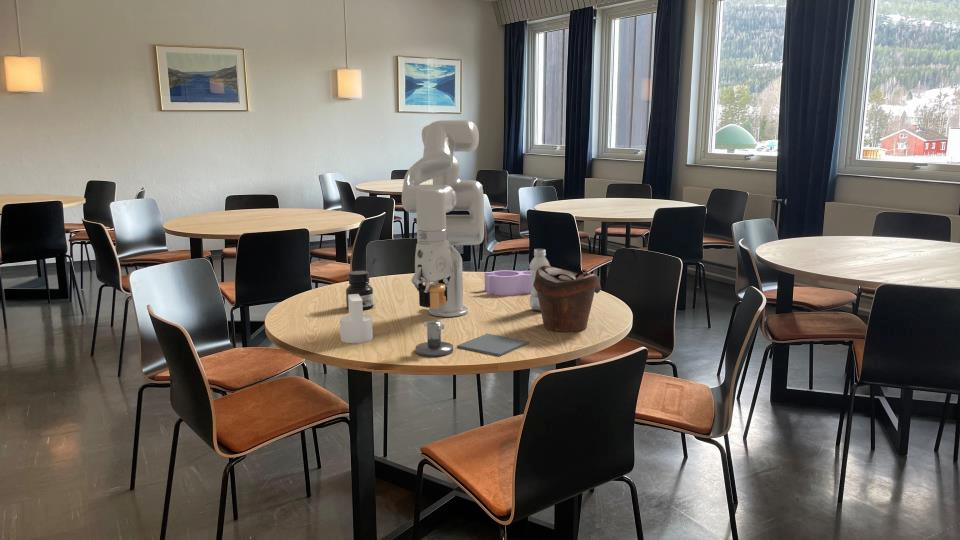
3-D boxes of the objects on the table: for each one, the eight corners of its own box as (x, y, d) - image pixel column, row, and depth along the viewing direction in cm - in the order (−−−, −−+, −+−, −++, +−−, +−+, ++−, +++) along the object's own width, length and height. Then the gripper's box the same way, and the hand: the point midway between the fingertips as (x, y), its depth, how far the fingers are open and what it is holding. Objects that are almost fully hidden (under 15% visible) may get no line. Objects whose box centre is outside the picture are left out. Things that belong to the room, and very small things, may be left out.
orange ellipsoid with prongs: (416, 305, 185) (415, 285, 184) (431, 300, 190) (431, 280, 189) (435, 309, 182) (434, 288, 180) (450, 303, 187) (450, 283, 186)
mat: (457, 347, 191) (457, 345, 191) (487, 335, 202) (487, 333, 202) (500, 356, 183) (500, 354, 183) (528, 343, 194) (528, 341, 194)
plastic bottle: (549, 312, 227) (549, 251, 223) (528, 312, 228) (528, 251, 225) (551, 308, 233) (551, 248, 229) (530, 307, 235) (530, 247, 231)
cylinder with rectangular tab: (375, 341, 197) (373, 299, 195) (342, 344, 195) (340, 302, 193) (370, 333, 206) (368, 293, 204) (339, 335, 203) (337, 295, 201)
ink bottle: (353, 312, 230) (352, 276, 228) (340, 307, 237) (339, 272, 235) (379, 307, 237) (378, 272, 234) (366, 303, 243) (364, 269, 241)
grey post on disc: (407, 352, 187) (406, 323, 185) (432, 343, 195) (431, 315, 193) (437, 359, 181) (436, 329, 179) (460, 349, 189) (460, 320, 187)
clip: (536, 287, 266) (536, 269, 265) (542, 294, 254) (542, 275, 253) (483, 289, 264) (483, 270, 263) (487, 296, 252) (487, 277, 251)
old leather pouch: (607, 333, 202) (608, 271, 199) (538, 336, 201) (537, 274, 198) (592, 318, 220) (593, 261, 217) (528, 321, 218) (528, 264, 215)
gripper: (421, 242, 173) (423, 313, 177) (463, 233, 187) (464, 298, 191) (398, 239, 177) (400, 308, 181) (441, 230, 191) (443, 295, 195)
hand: (433, 302), depth 186 cm, fingers closed on orange ellipsoid with prongs, 6 cm apart
